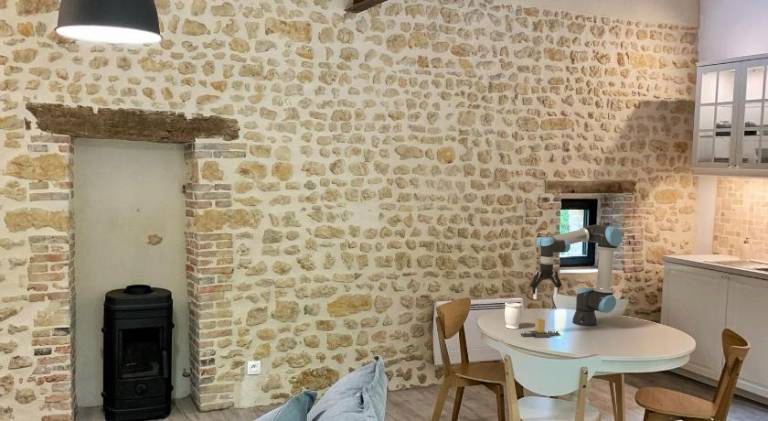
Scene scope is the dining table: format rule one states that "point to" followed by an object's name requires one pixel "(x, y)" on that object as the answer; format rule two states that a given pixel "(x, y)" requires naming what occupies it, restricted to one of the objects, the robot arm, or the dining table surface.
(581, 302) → the robot arm
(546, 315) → the dining table surface
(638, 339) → the dining table surface
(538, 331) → the gold rectangular block
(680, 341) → the dining table surface
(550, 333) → the knobbed square frame
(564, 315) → the dining table surface
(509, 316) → the jar
